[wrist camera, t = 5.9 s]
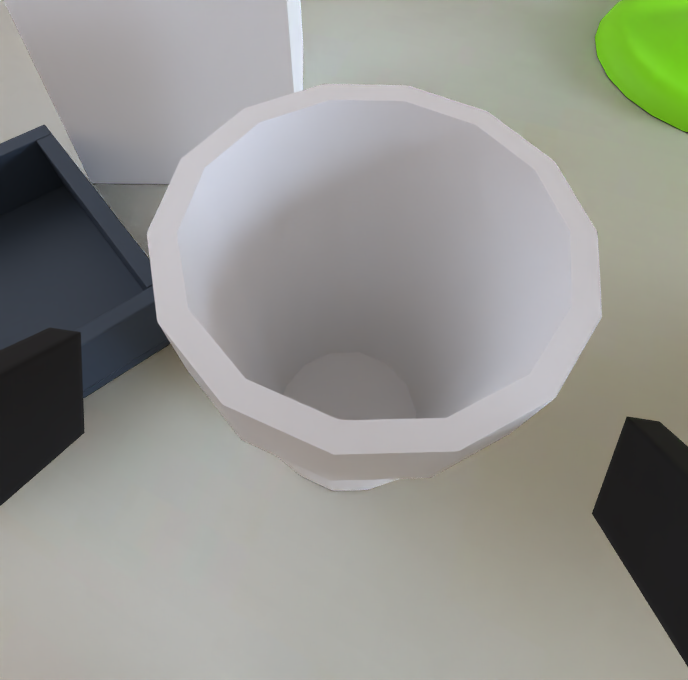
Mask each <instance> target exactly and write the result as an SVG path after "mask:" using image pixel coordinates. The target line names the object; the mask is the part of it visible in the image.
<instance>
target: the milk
mask: <svg viewBox="0 0 688 680" xmlns="http://www.w3.org/2000/svg"><path fill="white" fill-rule="evenodd" d="M3 1H4V3H5V5H6V7H7V9H8V11H9V13H10V15H11V17H12V19H13V21H14V23H15V26H16V28H17V30H18V32H19V34H20V36H21V38H22V40H23V42H24V44H25V46H26V48H27V50H28V53H29V55H30V57H31V59H32V61H33V63H34V65H35V67H36V69H37V71H38V73H39V75H40V77H41V79H42V82H43V84H44V86H45V88H46V90H47V92H48V94H49V96H50V98H51V100H52V102H53V104H54V106H55V109H56V111H57V113H58V115H59V117H60V119H61V121H62V123H63V125H64V127H65V129H66V131H67V133H68V135H69V138H70V140H71V142H72V144H73V146H74V148H75V150H76V152H77V154H78V156H79V158H80V160H81V162H82V165H83V167H84V169H85V171H86V173H87V175H88V177H89V179H90V181H91V183H108V184H170V181H171V179H172V177H173V175H174V173H175V171H176V168H177V166H178V164H179V162H180V160H181V158H182V157H184V156H185V155H186V154H187V153H189V152H190V151H191V150H193V149H194V148H195V147H196V146H198V145H199V144H200V143H201V142H203V141H204V140H205V139H206V138H208V137H209V136H210V135H211V134H213V133H214V132H215V131H216V130H218V129H219V128H220V127H221V126H223V125H224V124H225V123H226V122H228V121H229V120H230V119H231V118H233V117H234V116H235V115H237V114H238V113H239V112H240V111H242V110H243V109H244V108H247V107H250V106H253V105H256V104H260V103H263V102H266V101H269V100H272V99H276V98H279V97H282V96H285V95H289V94H292V93H295V92H298V91H302V90H303V34H302V17H301V1H300V0H3Z"/></svg>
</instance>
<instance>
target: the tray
mask: <svg viewBox="0 0 688 680" xmlns="http://www.w3.org/2000/svg"><path fill="white" fill-rule="evenodd" d="M50 327H51V328H57V329H63V330H70V331H76V332H81V352H82V379H83V398H85V397H86V396H88V395H89V394H91V393H93V392H94V391H96V390H97V389H99V388H101V387H102V386H104V385H105V384H107V383H108V382H110V381H112V380H113V379H115V378H116V377H118V376H120V375H121V374H123V373H124V372H126V371H127V370H129V369H131V368H132V367H134V366H135V365H137V364H139V363H140V362H142V361H143V360H145V359H147V358H148V357H150V356H151V355H153V354H154V353H156V352H158V351H159V350H161V349H162V348H164V347H166V346H167V345H169V344H170V342H169V340H168V338H167V337H166V335H165V333H164V332H163V330H162V329H161V327H160V325H159V324H158V322H157V316H156V307H155V299H154V290H153V282H152V273H151V265H150V259H149V258H148V257H147V256H146V254H145V253H144V252H143V250H142V249H141V248H140V247H139V245H138V244H137V243H136V241H135V240H134V239H133V238H132V236H131V235H130V234H129V232H128V231H127V230H126V229H125V227H124V226H123V225H122V223H121V222H120V221H119V220H118V218H117V217H116V216H115V214H114V213H113V212H112V211H111V209H110V208H109V207H108V205H107V204H106V203H105V202H104V200H103V199H102V198H101V196H100V195H99V194H98V193H97V191H96V190H95V189H94V187H93V186H92V185H91V184H90V182H89V181H88V180H87V178H86V177H85V176H84V174H83V173H82V172H81V171H80V169H79V168H78V167H77V165H76V164H75V163H74V162H73V160H72V159H71V158H70V156H69V155H68V154H67V153H66V151H65V150H64V149H63V147H62V146H61V145H60V144H59V142H58V141H57V140H56V138H55V137H54V136H53V135H52V133H51V132H50V131H49V129H48V128H47V127H46V126H45V125H42V126H40V127H38V128H35V129H33V130H31V131H28V132H26V133H24V134H22V135H19V136H17V137H15V138H12V139H10V140H8V141H6V142H3V143H1V144H0V350H2V349H4V348H6V347H8V346H10V345H13V344H15V343H17V342H19V341H21V340H23V339H26V338H28V337H30V336H32V335H34V334H36V333H39V332H41V331H43V330H45V329H47V328H50Z"/></svg>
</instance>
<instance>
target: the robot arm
mask: <svg viewBox="0 0 688 680" xmlns="http://www.w3.org/2000/svg"><path fill="white" fill-rule="evenodd" d="M82 434H84V407H83V379H82V352H81V332H76V331H70V330H63V329H57V328H51V327H50V328H47V329H45V330H43V331H41V332H39V333H36V334H34V335H32V336H30V337H28V338H26V339H23V340H21V341H19V342H17V343H15V344H13V345H10V346H8V347H6V348H4V349H2V350H0V506H1V505H2V504H3V503H4V502H5V501H7V500H8V499H9V498H10V497H11V496H12V495H13V494H15V493H16V492H17V491H18V490H19V489H20V488H21V487H23V486H24V485H25V484H26V483H27V482H28V481H30V480H31V479H32V478H33V477H34V476H35V475H36V474H38V473H39V472H40V471H41V470H42V469H43V468H44V467H46V466H47V465H48V464H49V463H50V462H51V461H52V460H54V459H55V458H56V457H57V456H58V455H59V454H61V453H62V452H63V451H64V450H65V449H66V448H67V447H69V446H70V445H71V444H72V443H73V442H74V441H75V440H77V439H78V438H79V437H80V436H81V435H82ZM592 514H593V516H594V518H595V519H596V521H597V522H598V524H599V526H600V527H601V529H602V530H603V532H604V534H605V535H606V537H607V538H608V540H609V542H610V543H611V545H612V546H613V548H614V550H615V551H616V553H617V554H618V556H619V558H620V559H621V561H622V562H623V564H624V566H625V567H626V569H627V570H628V572H629V574H630V575H631V577H632V578H633V580H634V582H635V583H636V585H637V586H638V588H639V589H640V591H641V593H642V594H643V596H644V597H645V599H646V601H647V602H648V604H649V605H650V607H651V609H652V610H653V612H654V613H655V615H656V617H657V618H658V620H659V621H660V623H661V625H662V626H663V628H664V629H665V631H666V633H667V634H668V636H669V637H670V639H671V641H672V642H673V644H674V645H675V647H676V649H677V650H678V652H679V653H680V655H681V657H682V658H683V660H684V661H685V663H686V665H687V666H688V446H687V445H685V444H684V443H683V442H682V441H681V440H680V439H679V438H677V437H676V436H675V435H674V434H673V433H672V432H671V431H670V430H668V429H667V428H666V427H665V426H664V425H663V424H662V423H660V422H659V421H652V420H646V419H639V418H633V417H626V420H625V423H624V426H623V428H622V431H621V434H620V437H619V440H618V442H617V445H616V448H615V451H614V454H613V456H612V459H611V462H610V465H609V467H608V470H607V473H606V476H605V479H604V481H603V484H602V487H601V490H600V492H599V495H598V498H597V501H596V504H595V506H594V509H593V512H592Z"/></svg>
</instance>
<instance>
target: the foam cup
mask: <svg viewBox="0 0 688 680" xmlns="http://www.w3.org/2000/svg"><path fill="white" fill-rule="evenodd" d="M147 240H148V248H149V257H150V265H151V273H152V282H153V290H154V299H155V307H156V316H157V322H158V324H159V325H160V327H161V329H162V330H163V332H164V333H165V335H166V337H167V338H168V340H169V342H170V343H171V345H172V346H173V348H174V350H175V351H176V353H177V354H178V356H179V358H180V359H181V361H182V363H183V364H184V366H185V367H186V369H187V371H188V372H189V373H190V374H191V376H192V377H193V378H194V380H195V381H196V382H197V383H198V385H199V386H200V387H201V389H202V390H203V391H204V392H205V394H206V395H207V396H208V398H209V399H210V400H211V401H212V403H213V404H214V405H215V407H216V408H217V409H218V410H219V412H220V413H221V414H222V416H223V417H224V418H225V419H226V421H227V422H228V423H229V425H230V426H231V427H232V428H233V430H234V431H235V432H236V434H237V435H238V436H239V437H240V439H241V440H243V441H245V442H247V443H249V444H251V445H254V446H256V447H258V448H260V449H262V450H264V451H267V452H269V453H271V454H273V455H275V456H277V457H278V458H279V459H280V460H282V461H283V462H284V463H285V464H287V465H288V466H289V467H290V468H292V469H293V470H294V471H295V472H296V473H298V474H299V475H300V476H302V477H304V478H306V479H308V480H310V481H313V482H315V483H317V484H319V485H321V486H323V487H326V488H328V489H330V490H332V491H345V490H369V489H372V488H375V487H377V486H380V485H383V484H386V483H389V482H392V481H394V480H397V479H411V478H431V477H433V476H435V475H437V474H439V473H440V472H442V471H444V470H446V469H447V468H449V467H451V466H453V465H455V464H456V463H458V462H460V461H462V460H464V459H465V458H467V457H469V456H471V455H473V454H474V453H476V452H478V451H480V450H482V449H483V448H485V447H487V446H489V445H491V444H492V443H494V442H496V441H498V440H500V439H501V438H503V437H505V436H507V435H509V434H510V433H512V432H513V431H514V430H515V429H517V428H518V427H519V426H521V425H522V424H523V423H524V422H526V421H527V420H528V419H529V418H531V417H532V416H533V415H534V414H536V413H537V412H538V411H540V410H541V409H542V408H543V407H545V406H546V405H547V404H548V403H550V402H551V401H552V400H553V399H555V398H556V396H557V394H558V393H559V391H560V389H561V387H562V386H563V384H564V382H565V380H566V379H567V377H568V375H569V373H570V372H571V370H572V368H573V366H574V365H575V363H576V361H577V359H578V358H579V356H580V354H581V353H582V351H583V349H584V347H585V346H586V344H587V342H588V340H589V339H590V337H591V335H592V333H593V332H594V330H595V328H596V326H597V325H598V323H599V321H600V319H601V318H602V305H601V285H600V266H599V246H598V232H597V230H596V228H595V227H594V225H593V224H592V222H591V220H590V219H589V217H588V215H587V214H586V212H585V210H584V209H583V207H582V205H581V204H580V202H579V200H578V199H577V197H576V195H575V194H574V192H573V190H572V189H571V187H570V185H569V184H568V182H567V180H566V179H565V177H564V175H563V174H562V172H561V170H560V169H559V167H558V165H557V164H556V162H555V161H554V160H553V159H551V158H550V157H549V156H547V155H546V154H544V153H543V152H542V151H540V150H539V149H538V148H536V147H535V146H534V145H532V144H531V143H530V142H528V141H527V140H526V139H524V138H523V137H522V136H520V135H519V134H518V133H516V132H515V131H514V130H512V129H511V128H510V127H508V126H507V125H506V124H504V123H503V122H501V121H500V120H499V119H497V118H496V117H495V116H493V115H492V114H491V113H489V112H488V111H485V110H482V109H479V108H476V107H473V106H470V105H467V104H464V103H461V102H458V101H455V100H452V99H449V98H446V97H443V96H439V95H436V94H433V93H430V92H427V91H424V90H421V89H418V88H415V87H412V86H409V85H374V84H321V85H318V86H314V87H311V88H308V89H305V90H302V91H298V92H295V93H292V94H289V95H285V96H282V97H279V98H276V99H272V100H269V101H266V102H263V103H260V104H256V105H253V106H250V107H247V108H244V109H243V110H242V111H240V112H239V113H238V114H237V115H235V116H234V117H233V118H231V119H230V120H229V121H228V122H226V123H225V124H224V125H223V126H221V127H220V128H219V129H218V130H216V131H215V132H214V133H213V134H211V135H210V136H209V137H208V138H206V139H205V140H204V141H203V142H201V143H200V144H199V145H198V146H196V147H195V148H194V149H193V150H191V151H190V152H189V153H187V154H186V155H185V156H184V157H182V158H181V160H180V162H179V164H178V166H177V168H176V171H175V173H174V175H173V177H172V179H171V181H170V184H169V186H168V188H167V190H166V192H165V194H164V197H163V199H162V201H161V203H160V205H159V207H158V209H157V212H156V214H155V216H154V218H153V220H152V222H151V225H150V227H149V229H148V231H147Z"/></svg>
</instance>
